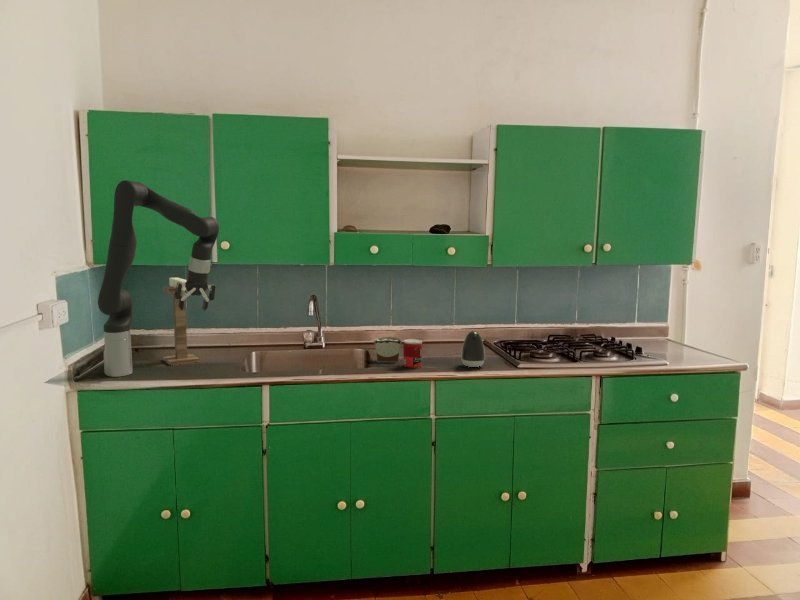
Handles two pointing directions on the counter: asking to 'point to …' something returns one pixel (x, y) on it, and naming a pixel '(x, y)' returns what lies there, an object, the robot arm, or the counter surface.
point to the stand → (179, 333)
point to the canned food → (412, 353)
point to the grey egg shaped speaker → (473, 350)
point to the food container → (387, 349)
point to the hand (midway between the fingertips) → (192, 309)
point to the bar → (175, 280)
